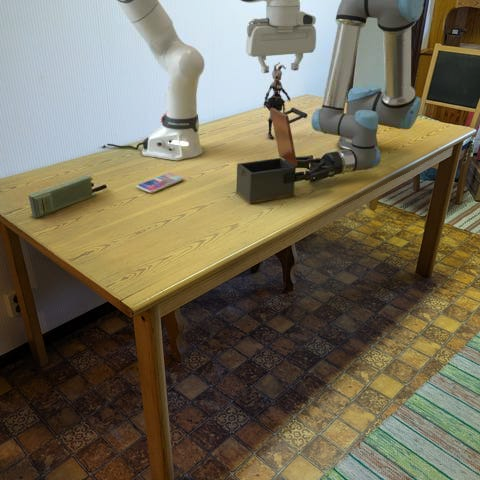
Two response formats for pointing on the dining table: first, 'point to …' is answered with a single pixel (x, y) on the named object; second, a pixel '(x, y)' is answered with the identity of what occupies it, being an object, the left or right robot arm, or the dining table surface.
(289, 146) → the lid
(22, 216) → the dining table surface
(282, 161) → the chest
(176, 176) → the smartphone
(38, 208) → the handheld radio
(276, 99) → the figurine
